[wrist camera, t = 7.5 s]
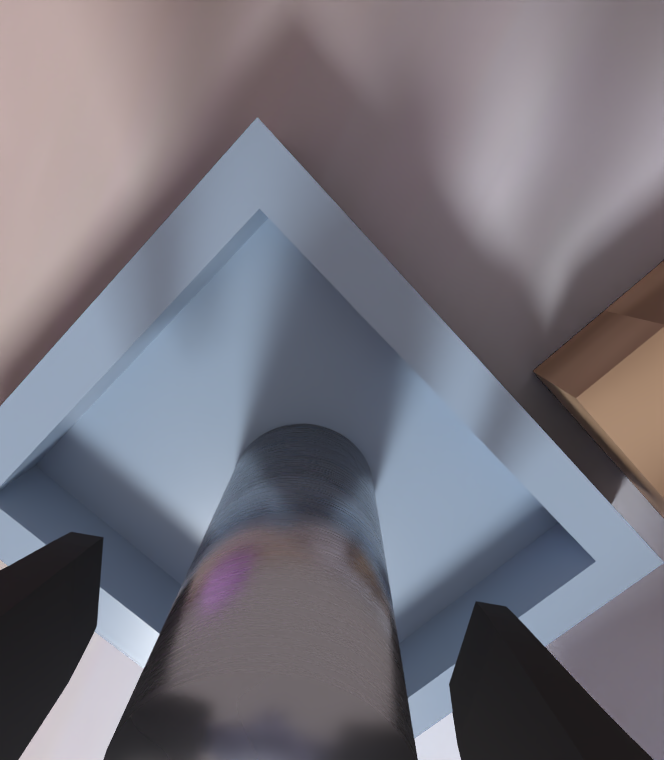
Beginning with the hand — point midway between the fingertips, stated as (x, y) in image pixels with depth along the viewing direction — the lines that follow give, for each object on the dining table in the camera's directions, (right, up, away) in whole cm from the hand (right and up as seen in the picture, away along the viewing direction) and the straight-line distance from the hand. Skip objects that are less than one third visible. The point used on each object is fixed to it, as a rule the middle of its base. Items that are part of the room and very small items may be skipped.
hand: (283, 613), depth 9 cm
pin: (0, +1, +4) cm, 5 cm away
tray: (0, +1, +5) cm, 5 cm away
